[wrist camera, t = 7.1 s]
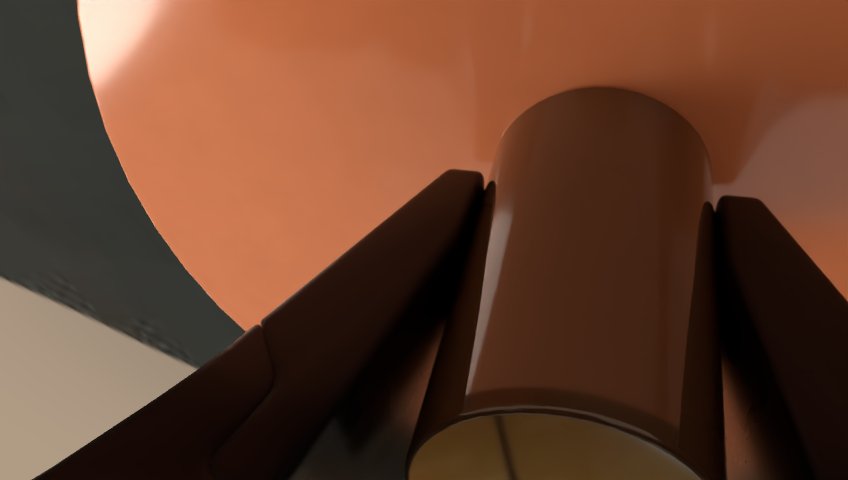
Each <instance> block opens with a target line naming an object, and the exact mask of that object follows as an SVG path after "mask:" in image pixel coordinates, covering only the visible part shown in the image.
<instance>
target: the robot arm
mask: <svg viewBox="0 0 848 480" xmlns="http://www.w3.org/2000/svg"><path fill="white" fill-rule="evenodd" d="M484 190H485V189H484V177H483V175H482V173H481V172H479V171H471V170H461V169H449V170H447V171H445V172H444V173H443V174H441V175H440V176H439V177H438V178H437V179H435V180H434V181H433V182H432V183H430V184H429V185H428V186H427V187H425V188H424V189H423V190H422V191H420V192H419V193H418V194H417V195H415V196H414V197H413V198H412V199H411V200H409V201H408V202H407V203H406V204H404V205H403V206H402V207H401V208H399V209H398V210H397V211H396V212H394V213H393V214H392V215H391V216H389V217H388V218H387V219H386V220H385V221H383V222H382V223H381V224H380V225H378V226H377V227H376V228H375V229H373V230H372V231H371V232H370V233H368V234H367V235H366V236H365V237H364V238H362V239H361V240H360V241H359V242H357V243H356V244H355V245H354V246H352V247H351V248H350V249H349V250H347V251H346V252H345V253H344V254H342V255H341V256H340V257H339V258H338V259H336V260H335V261H334V262H333V263H331V264H330V265H329V266H328V267H326V268H325V269H324V270H323V271H321V272H320V273H319V274H318V275H316V276H315V277H314V278H313V279H312V280H310V281H309V282H308V283H307V284H305V285H304V286H303V287H302V288H300V289H299V290H298V291H297V292H295V293H294V294H293V295H292V296H290V297H289V298H288V299H287V300H286V301H284V302H283V303H282V304H281V305H279V306H278V307H277V308H276V309H274V310H273V311H272V312H271V313H269V314H268V315H267V316H266V317H264V318H263V319H262V320H261V326H260V325H259V324H256V325H254V326H253V327H252V328H250V329H249V330H248V331H247V332H246V333H244V334H243V335H242V336H241V337H239V338H238V339H237V340H236V341H234V342H233V343H232V344H231V345H229V346H228V347H227V348H225V349H224V350H223V351H221V352H220V353H219V354H217V355H216V356H215V357H214V358H212V359H211V360H210V361H208V362H207V363H206V364H204V365H203V366H202V367H200V368H199V369H198V370H197V371H195V372H194V373H192V374H191V375H189V376H188V377H187V378H185V379H184V380H182V381H181V382H179V383H178V384H176V385H175V386H174V387H172V388H171V389H169V390H168V391H166V392H165V393H163V394H162V395H161V396H159V397H158V398H156V399H155V400H153V401H152V402H150V403H149V404H147V405H146V406H144V407H143V408H141V409H140V410H138V411H137V412H135V413H134V414H132V415H131V416H129V417H127V418H126V419H124V420H123V421H121V422H120V423H118V424H117V425H116V426H114V427H113V428H111V429H109V430H108V431H106V432H105V433H103V434H102V435H100V436H99V437H97V438H96V439H94V440H93V441H91V442H90V443H88V444H87V445H85V446H84V447H82V448H80V449H79V450H78V451H76V452H74V453H73V454H71V455H70V456H68V457H67V458H65V459H64V460H62V461H61V462H59V463H58V464H56V465H55V466H53V467H52V468H50V469H48V470H47V471H45V472H44V473H42V474H40V475H39V476H37V477H35V478H34V479H32V480H405V468H404V465H405V461H406V456H407V452H408V449H409V446H410V442H411V439H412V435H413V432H414V429H415V425H416V422H417V418H418V415H419V412H420V408H421V405H422V401H423V398H424V395H425V391H426V388H427V384H428V381H429V377H430V374H431V371H432V367H433V364H434V360H435V357H436V354H437V350H438V347H439V343H440V340H441V337H442V333H443V330H444V326H445V323H446V320H447V316H448V313H449V309H450V306H451V303H452V299H453V296H454V292H455V289H456V286H457V282H458V279H459V275H460V272H461V269H462V265H463V262H464V258H465V255H466V252H467V248H468V245H469V241H470V238H471V234H472V231H473V228H474V224H475V221H476V217H477V214H478V211H479V207H480V204H481V200H482V197H483V194H484ZM715 231H716V252H717V272H718V293H719V313H720V334H721V354H722V375H723V395H724V416H725V437H726V457H727V478H728V480H848V301H847V300H846V299H845V297H844V296H843V295H842V294H841V293H840V292H839V290H838V289H837V288H836V287H835V286H834V285H833V283H832V282H831V281H830V280H829V279H828V278H827V276H826V275H825V274H824V273H823V272H822V271H821V269H820V268H819V267H818V266H817V265H816V264H815V262H814V261H813V260H812V259H811V258H810V257H809V255H808V254H807V253H806V252H805V251H804V250H803V248H802V247H801V246H800V245H799V244H798V242H797V241H796V240H795V239H794V238H793V237H792V235H791V234H790V233H789V232H788V231H787V230H786V228H785V227H784V226H783V225H782V224H781V223H780V221H779V220H778V219H777V218H776V217H775V216H774V214H773V213H772V212H771V211H770V210H769V209H768V207H767V206H766V205H765V204H764V203H763V202H762V201H761V200H760V199H758V198H754V197H743V196H732V195H723V196H721V197H720V199H719V200H718V202H717V205H716V209H715Z"/></svg>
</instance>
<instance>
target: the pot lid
mask: <svg viewBox="0 0 848 480" xmlns="http://www.w3.org/2000/svg"><path fill="white" fill-rule="evenodd" d="M77 10H78V19H79V24H80V30H81V35H82V41H83V46H84V52H85V57H86V63H87V68H88V74H89V78H90V81H91V84H92V87H93V90H94V94H95V97H96V100H97V103H98V106H99V110H100V113H101V116H102V119H103V122H104V126H105V129H106V132H107V134H108V136H109V138H110V141H111V143H112V145H113V147H114V150H115V152H116V154H117V156H118V159H119V161H120V163H121V165H122V168H123V170H124V172H125V174H126V177H127V179H128V181H129V183H130V185H131V186H132V188H133V190H134V192H135V193H136V195H137V197H138V198H139V200H140V202H141V203H142V205H143V207H144V209H145V210H146V212H147V214H148V215H149V217H150V219H151V221H152V222H153V224H154V226H155V227H156V229H157V230H158V232H159V233H160V234H161V236H162V237H163V238H164V240H165V241H166V243H167V244H168V245H169V247H170V248H171V249H172V251H173V252H174V254H175V255H176V256H177V258H178V259H179V260H180V262H181V263H182V264H183V266H184V267H185V269H186V270H187V271H188V272H189V273H190V274H191V276H192V277H193V278H194V279H195V280H196V281H197V282H198V283H199V284H200V286H201V287H202V288H203V289H204V290H205V291H206V292H207V293H208V295H209V296H210V297H211V298H212V299H213V300H214V301H215V302H216V304H217V305H218V306H219V307H220V308H221V309H222V310H223V311H224V312H225V313H226V314H227V315H229V316H230V317H231V318H232V319H233V320H234V321H235V322H236V323H237V324H238V325H239V326H240V327H241V328H243V329H244V330H245V331H246V332H247V331H248V330H249V329H250V328H252V327H253V326H254V325H256V324H259V325H260V326H261V320H262V319H263V318H264V317H266V316H267V315H268V314H269V313H271V312H272V311H273V310H274V309H276V308H277V307H278V306H279V305H281V304H282V303H283V302H284V301H286V300H287V299H288V298H289V297H290V296H292V295H293V294H294V293H295V292H297V291H298V290H299V289H300V288H302V287H303V286H304V285H305V284H307V283H308V282H309V281H310V280H312V279H313V278H314V277H315V276H316V275H318V274H319V273H320V272H321V271H323V270H324V269H325V268H326V267H328V266H329V265H330V264H331V263H333V262H334V261H335V260H336V259H338V258H339V257H340V256H341V255H342V254H344V253H345V252H346V251H347V250H349V249H350V248H351V247H352V246H354V245H355V244H356V243H357V242H359V241H360V240H361V239H362V238H364V237H365V236H366V235H367V234H368V233H370V232H371V231H372V230H373V229H375V228H376V227H377V226H378V225H380V224H381V223H382V222H383V221H385V220H386V219H387V218H388V217H389V216H391V215H392V214H393V213H394V212H396V211H397V210H398V209H399V208H401V207H402V206H403V205H404V204H406V203H407V202H408V201H409V200H411V199H412V198H413V197H414V196H415V195H417V194H418V193H419V192H420V191H422V190H423V189H424V188H425V187H427V186H428V185H429V184H430V183H432V182H433V181H434V180H435V179H437V178H438V177H439V176H440V175H441V174H443V173H444V172H445V171H447V170H449V169H461V170H471V171H479V172H481V173H482V175H483V177H484V189H485V190H484V194H483V197H482V200H481V204H480V207H479V211H478V214H477V217H476V221H475V224H474V228H473V231H472V234H471V238H470V241H469V245H468V248H467V252H466V255H465V258H464V262H463V265H462V269H461V272H460V275H459V279H458V282H457V286H456V289H455V292H454V296H453V299H452V303H451V306H450V309H449V313H448V316H447V320H446V323H445V326H444V330H443V333H442V337H441V340H440V343H439V347H438V350H437V354H436V357H435V360H434V364H433V367H432V371H431V374H430V377H429V381H428V384H427V388H426V391H425V395H424V398H423V401H422V405H421V408H420V412H419V415H418V418H417V422H416V425H415V429H414V432H413V435H412V439H411V442H410V446H409V449H408V452H407V456H406V461H405V465H404V468H405V480H728V478H727V457H726V437H725V416H724V395H723V375H722V354H721V334H720V313H719V293H718V272H717V252H716V231H715V209H716V205H717V202H718V200H719V199H720V197H721V196H723V195H732V196H743V197H754V198H758V199H760V200H761V201H762V202H763V203H764V204H765V205H766V206H767V207H768V209H769V210H770V211H771V212H772V213H773V214H774V216H775V217H776V218H777V219H778V220H779V221H780V223H781V224H782V225H783V226H784V227H785V228H786V230H787V231H788V232H789V233H790V234H791V235H792V237H793V238H794V239H795V240H796V241H797V242H798V244H799V245H800V246H801V247H802V248H803V250H804V251H805V252H806V253H807V254H808V255H809V257H810V258H811V259H812V260H813V261H814V262H815V264H816V265H817V266H818V267H819V268H820V269H821V271H822V272H823V273H824V274H825V275H826V276H827V278H828V279H829V280H830V281H831V282H832V283H833V285H834V286H835V287H836V288H837V289H838V290H839V292H840V293H841V294H842V295H843V296H844V297H845V299H846V300H847V301H848V0H77Z"/></svg>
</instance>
